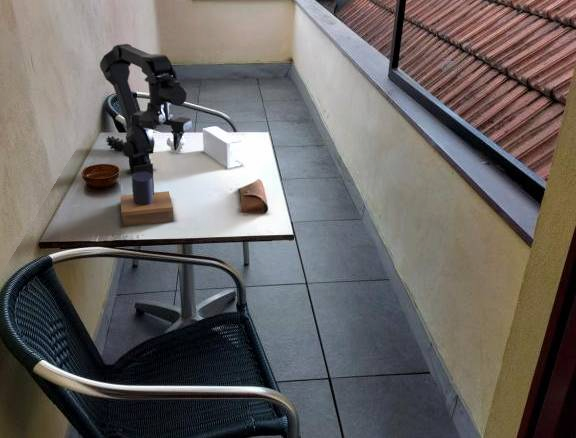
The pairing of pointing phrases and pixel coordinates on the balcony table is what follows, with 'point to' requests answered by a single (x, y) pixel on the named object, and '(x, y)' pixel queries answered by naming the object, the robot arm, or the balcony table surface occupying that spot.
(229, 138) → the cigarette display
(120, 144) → the pine cone
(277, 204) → the balcony table surface
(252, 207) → the sunglasses case
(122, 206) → the wooden block base
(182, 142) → the white coral
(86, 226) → the balcony table surface
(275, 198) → the balcony table surface
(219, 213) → the balcony table surface
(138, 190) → the speaker
